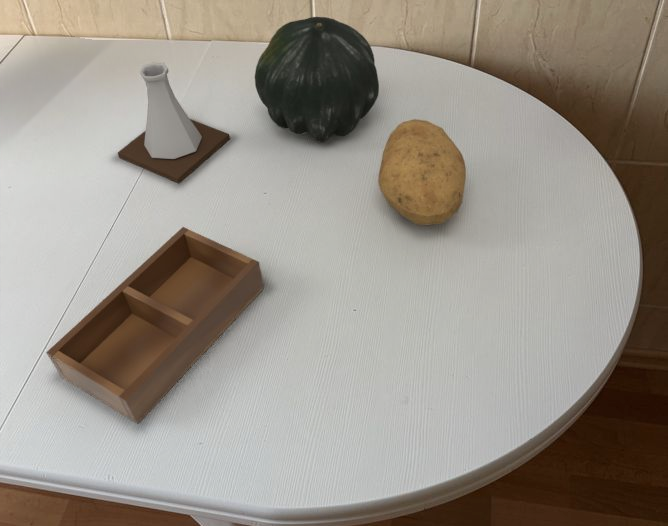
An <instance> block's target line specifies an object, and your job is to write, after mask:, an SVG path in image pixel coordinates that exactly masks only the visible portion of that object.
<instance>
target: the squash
mask: <svg viewBox="0 0 668 526" xmlns="http://www.w3.org/2000/svg"><path fill="white" fill-rule="evenodd" d="M379 82H380V81H379V75H378V72H377V67H376V65H375V55H374V52H373V49H372V46H371V44H370V43H369V41H368V39H366V37H365V36H364V35H362V34H361V33H360V32H359V31H358V30H357V29H355V28H354V27H352V26H350V25H348V24H347V23H344V22H341V21H339V20H337V19H334V18H330V17H326V16H311V17H308V18H303V19H297V20H293V21H289V22H287V23H285V24H283V25H282V26H281V27H279V28H278V29H277V30H276V31H275V33H274V34H273V35H272V37H271V38H270V41H269V43H268V44H267V47H266V48H265V49H264V51H262V53H261V55H260V56H259V58H258V61H257V64H256V66H255V73H254V84H255V89H256V92H257V95H258V97H259V99H260V101H261V103H262V104H263V105H264V106H265V108H267V112H268V115H269V117H270V119H271V120H272V122H273V123H274V124H275V125H276V126H277V127H280V128H282V129H288V130H289V131H291V132H292V133H294V134H295V135H304V134H306V133H307V134H308V135H309V136H310V137H311V138H312V139H313V140H314V141H316V142H319V143H325V142H327V141H328V140H329V139H331V138H332V136H333V135H335V136H338V137H345V136H348V135H349V134H350V133H352V132H353V131H354V129H355V128H357V126H358V124H359V122H360V121H361V119H363V118H365V117H366V115H368V113H369V112H370V111H371V109H372V108H373V106H374V105H375V103H376V102H377V99H378V96H379V91H380V83H379Z"/></svg>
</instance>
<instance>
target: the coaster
mask: <svg viewBox="0 0 668 526" xmlns="http://www.w3.org/2000/svg"><path fill="white" fill-rule="evenodd" d="M189 119H190V120H191V122H192V123H193V124H194V126H195V127H196V129H197V130H198V131H199V133H200V135H201V136H202V138H201V141H200V143H199V145H198V148H197V150H196V151H195V152H192V153H190V154H187V155H184V156H181V157H178V158H176V159H166V158H152V157H151V155H150V154H149V152H148V151H147V149H146V147H145V146H144V143H145V132H146V130H144V131H143V132H141V133H140V134H139V135H137V137H135V138H134V139H133V140H132V141H130V142H129V143H128V144H127V145H125V146H124V147H123V148H121V149H120V150H119V151H117V156H118V158H119V159H120V160H121V159H122V160H123V161H126V162H128V163H131V164H133V165H135V166H136V167H137V166H138V167H140V168H142V169H144V170H146V171H149V172H151V173H153V174H156V175H158V176H160V177H162V178H165V179H167V180H169V181H172V182H175V183H177V184H181V182H182V181H184V180H185V179H186V178H187V177H188V176H190V175H191V174H192V173H193V172H194V171H195V170H196V169H197V168H199V167H200V166H201V165H202V164H203V163H205V161H207V160H208V159H209V158H210V157H212V155H214V154H215V153H216V152H217V151H218V150H219V149H220V148H222V147H223V146H224V145H225V144H226V143H227V142H229V141H230V140H231V135H230V134H229V133H227V132H226V131H222V130H219V129H217V128H214V127H212V126H209V125H207V124H204V123H202V122H199V121H197V120H194V119H191V118H189Z"/></svg>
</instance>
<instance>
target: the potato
mask: <svg viewBox="0 0 668 526" xmlns="http://www.w3.org/2000/svg"><path fill="white" fill-rule="evenodd" d="M381 156H382V157H381V161H380V166H379V167H380V168H379V172H378V179H377V183H378V186H379V188H380V192H381V194H382V195H383V197H384V199H385V200H386V202H387V205H389V206H390V207H391V208H393V209H394V210H395V211H397V212H398V214H400V215H401V216H402V217H404V218H405V219H407V220H409V221H410V222H412V223H413V224H415V225H417V226H423V225H424V226H431V225H438V224H440V225H441V224H443V223H445V222H446V221H448V220H449V219H450V218H452V217H453V216H454V215H455V214H457V213H458V211H459V210H460V208H461V205H462V203H463V200H464V193H465V187H466V186H465V185H466V180H467V179H466V177H467V168H466V161H465V159H464V155H463V154H462V152H461V150H460V149H459V148H458V147H457V145H456V144H455V143H454V141H453V140H452V139H451V137H449V135H448V134H447V132H446V131H445V129H444V128H443V127H441V126H439V125H436V124H435V123H432V122H430V121H428V120H424V119H415V118H414V119H409V120H406V121H403V122H401V123H399V124H398V125H397V126H396V127H395V129H394V130H393V131H392V132H391V133H390V134H389V136H388V138H387V141H386V144H385V146H384V148H383V151H382V155H381Z"/></svg>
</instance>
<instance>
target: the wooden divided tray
mask: <svg viewBox="0 0 668 526" xmlns="http://www.w3.org/2000/svg"><path fill="white" fill-rule="evenodd" d="M260 265H261V264H260V261H258V260H256V259H254V258H252V257H250V256H247V255H245V254H243V253H241V252H239V251H237V250H234V249H232V248H230V247H228V246H226V245H224V244H222V243H220V242H217V241H215V240H213V239H211V238H209V237H206V236H204V235H202V234H199V233H197V232H195V231H193V230H192V229H189V228H186V227H184V226H182V227H181V228H180V229H179V230H178V231H176V233H174V235H172V236H171V237H170V238H169V239H168V240H167V241H166V242H164V243H163V244H162V245H161V246H160V247H159V248H158V249H157V250H156V251H155V252H154V253H153V254H152V255H151V256H149V258H147V259H146V260H144V262H143V263H142V264H141V265H139V267H137V268H136V269H135V270H134V271H133V272H132V273H131V274H130V275H129V276H128V277H126V278H125V279H124V280H123V281H122V282H121V283H120V284H119V285H118V286H117V287H115V288H114V290H112V291H111V292H110V293H109V294H108V295H107V296H106V297H105V298H104V299H102V300H101V302H99V304H97V305H96V306H94V308H93V309H92V310H90V312H89V313H87V314H86V315H85V316H84V317H83V318H82V319H81V320H80V321H79V322H78V323H77V324H75V325H74V326H73V327H72V328H71V329H70V330H69V331H68V332H66V334H64V336H62V337H61V338H60V339H59V340H58V341H57V342H56V343H55V344H54V345H53V346H52V347H50V348H49V349H48V350H47V351H46V355H47V357H48V358H49V359H50V361H51V364H52V365H53V366H54V368H55V369H56V371H57V372H58V374H59V376H60V377H61V378H62V379H64V380H65V381H66V382H69V383H71V384H72V385H73V386H75V387H77V388H78V389H80V390H81V391H83V392H85V393H87V394H88V395H90V396H92V397H93V398H95V399H96V400H97V401H100V402H101V403H103V404H104V405H106V406H107V407H109V408H111V409H112V410H114V411H116V412H117V413H119V414H120V415H122V416H124V417H125V418H127V419H129V420H131V421H132V422H134V423H135V424H137V425H139V424H140V423H141V421H142V420H143V419H144V418H145V417H146V416H147V415H148V414H149V413H150V412H151V411H152V410H153V409H154V408H155V406H157V404H158V403H160V401H161V400H162V399H163V398H164V397H165V396H166V394H168V392H169V391H170V390H171V389H172V388H173V387H174V386H175V385H176V384H177V383H178V381H180V379H181V378H182V377H183V376H184V375H185V374H186V373H187V372H188V371H189V370H190V369H191V368H192V366H194V364H195V363H196V362H197V361H198V360H199V359H200V358H201V357H202V356H203V355H204V354H205V352H207V351H208V349H209V348H210V347H212V345H213V344H214V343H215V342H216V341H217V340H218V338H220V337H221V335H222V334H223V333H225V331H226V330H227V329H228V328H229V327H230V326H231V325H232V323H233V322H235V320H236V319H237V318H238V317H239V316H240V315H241V314H242V313H243V312H244V310H246V309H247V307H248V306H250V304H251V303H252V302H253V301H254V300H255V299H256V298H257V297H258V296H259V295H260V293H262V291H263V290H264V288H265V286H264V281H263V276H262V271H261V266H260Z"/></svg>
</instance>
